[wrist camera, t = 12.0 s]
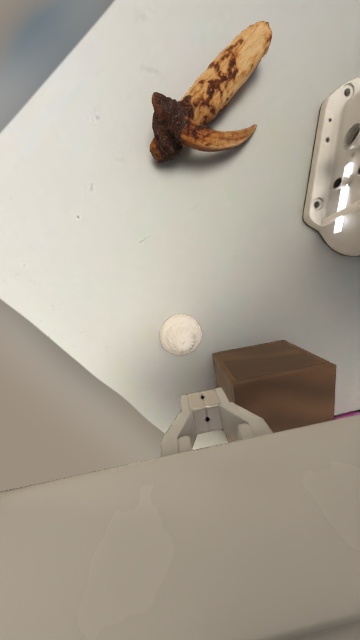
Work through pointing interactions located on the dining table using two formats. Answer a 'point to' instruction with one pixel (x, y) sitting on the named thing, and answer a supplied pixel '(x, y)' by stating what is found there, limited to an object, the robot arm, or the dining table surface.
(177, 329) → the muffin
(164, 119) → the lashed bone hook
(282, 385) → the cabinet
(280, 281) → the dining table surface
